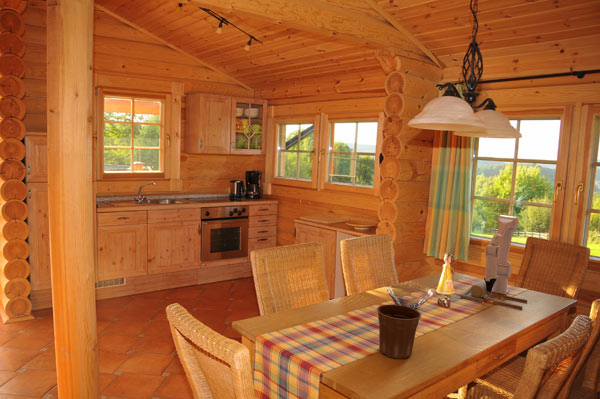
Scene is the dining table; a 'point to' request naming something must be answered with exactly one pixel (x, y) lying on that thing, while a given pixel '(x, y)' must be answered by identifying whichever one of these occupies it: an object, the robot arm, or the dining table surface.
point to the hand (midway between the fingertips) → (489, 291)
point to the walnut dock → (508, 303)
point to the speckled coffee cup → (480, 290)
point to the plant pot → (397, 330)
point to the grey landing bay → (471, 297)
